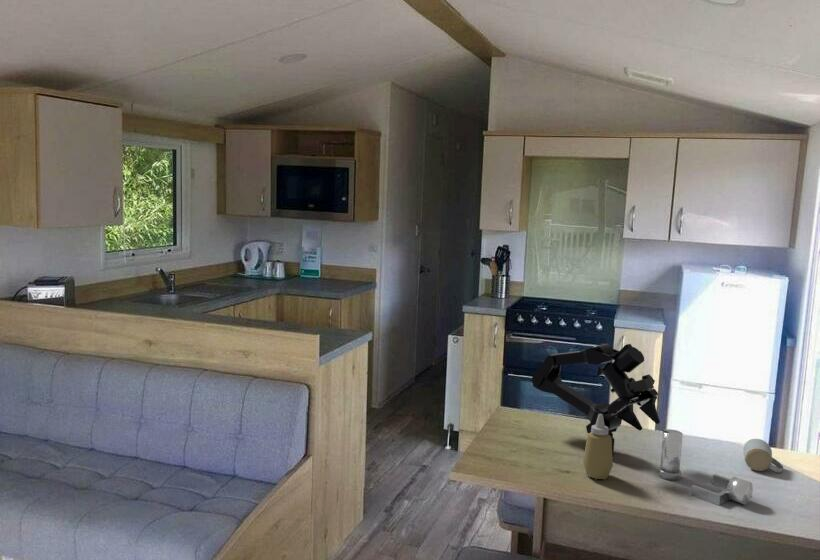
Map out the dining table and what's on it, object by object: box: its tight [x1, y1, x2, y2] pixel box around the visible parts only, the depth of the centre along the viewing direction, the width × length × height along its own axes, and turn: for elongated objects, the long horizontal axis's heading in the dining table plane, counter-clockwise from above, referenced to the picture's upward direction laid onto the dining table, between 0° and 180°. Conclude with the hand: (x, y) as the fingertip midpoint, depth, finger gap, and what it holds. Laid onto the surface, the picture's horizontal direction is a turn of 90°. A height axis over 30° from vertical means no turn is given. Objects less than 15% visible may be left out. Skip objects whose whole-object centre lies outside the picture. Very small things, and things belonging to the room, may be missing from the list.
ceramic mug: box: [742, 438, 785, 474], centre depth 199 cm, size 11×8×8 cm
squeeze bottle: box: [582, 414, 614, 480], centre depth 190 cm, size 8×8×18 cm
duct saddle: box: [690, 473, 754, 506], centre depth 180 cm, size 12×13×6 cm
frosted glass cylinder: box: [658, 428, 683, 482], centre depth 191 cm, size 6×6×13 cm
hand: (650, 426), depth 196 cm, fingers open, 9 cm apart
